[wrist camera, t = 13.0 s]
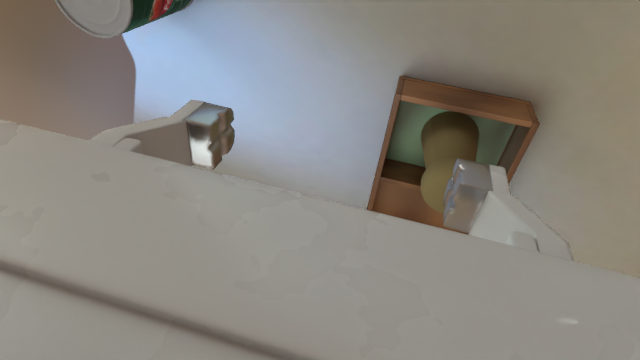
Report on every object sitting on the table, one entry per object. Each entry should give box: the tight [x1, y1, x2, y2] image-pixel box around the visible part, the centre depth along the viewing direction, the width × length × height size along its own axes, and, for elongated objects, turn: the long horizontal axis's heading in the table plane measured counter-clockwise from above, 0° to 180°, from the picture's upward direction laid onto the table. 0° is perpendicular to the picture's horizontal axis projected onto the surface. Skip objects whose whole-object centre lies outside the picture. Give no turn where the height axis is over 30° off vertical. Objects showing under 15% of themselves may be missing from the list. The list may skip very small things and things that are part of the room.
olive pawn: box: [420, 111, 479, 213], centre depth 37 cm, size 6×6×11 cm
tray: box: [367, 76, 540, 235], centre depth 44 cm, size 13×20×5 cm, turn 173°
